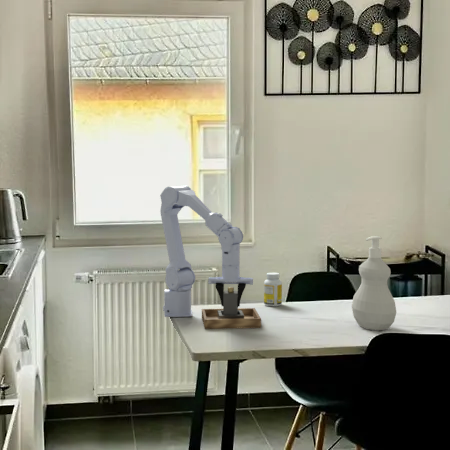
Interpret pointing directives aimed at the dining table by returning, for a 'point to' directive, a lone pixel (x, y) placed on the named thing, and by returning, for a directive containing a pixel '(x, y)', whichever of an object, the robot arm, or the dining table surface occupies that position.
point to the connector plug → (230, 302)
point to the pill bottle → (272, 290)
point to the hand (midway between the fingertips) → (230, 305)
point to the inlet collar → (238, 316)
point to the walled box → (249, 319)
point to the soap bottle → (374, 292)
